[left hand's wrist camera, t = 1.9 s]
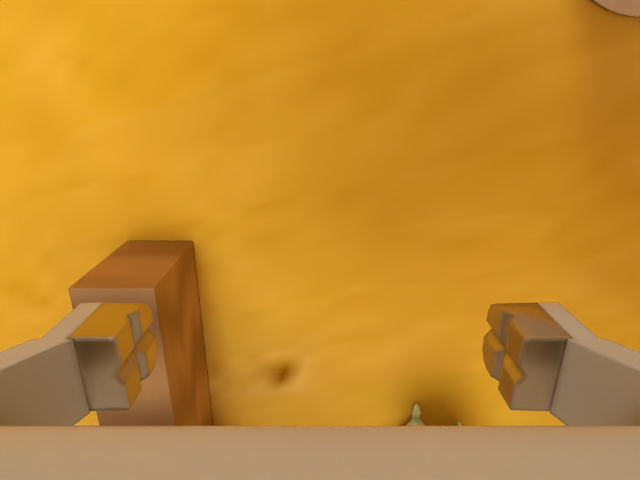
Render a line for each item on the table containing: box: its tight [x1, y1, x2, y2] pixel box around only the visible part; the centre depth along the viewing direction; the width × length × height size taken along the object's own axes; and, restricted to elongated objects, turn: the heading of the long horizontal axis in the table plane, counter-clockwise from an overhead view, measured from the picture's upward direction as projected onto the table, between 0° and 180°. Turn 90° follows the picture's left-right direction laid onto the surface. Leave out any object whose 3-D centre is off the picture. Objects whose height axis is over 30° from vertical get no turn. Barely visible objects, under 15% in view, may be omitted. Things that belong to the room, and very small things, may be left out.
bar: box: [69, 241, 213, 426], centre depth 37 cm, size 24×6×9 cm, turn 0°
